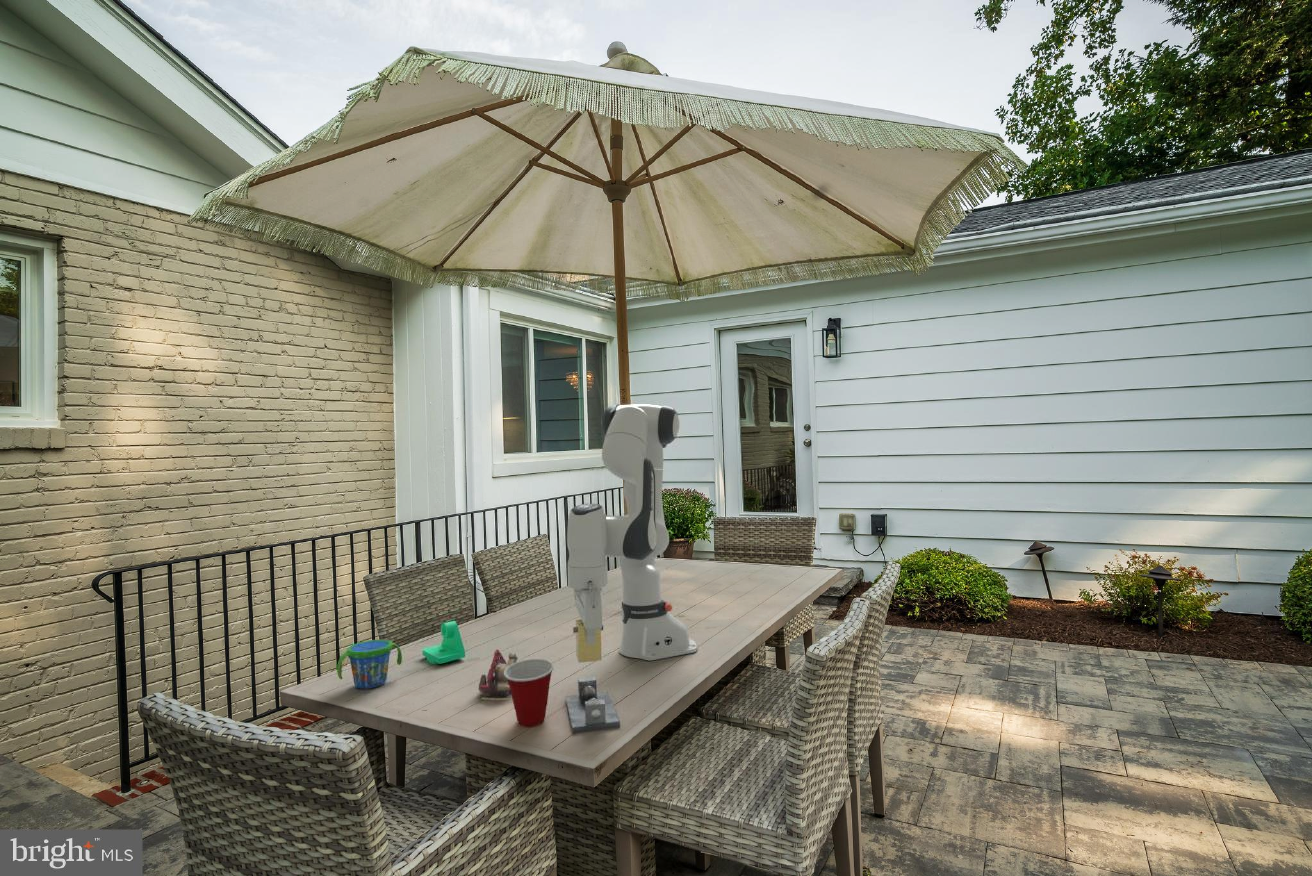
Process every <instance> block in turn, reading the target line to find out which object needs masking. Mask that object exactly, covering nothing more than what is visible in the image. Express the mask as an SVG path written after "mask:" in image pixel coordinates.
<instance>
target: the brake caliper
mask: <svg viewBox="0 0 1312 876" xmlns="http://www.w3.org/2000/svg"><path fill="white" fill-rule="evenodd" d="M518 659H519V658H518V656H517V654H516V653H512V652H509V654H508V661H506V660H505V658H504V656H503V654H502V653H501V652H500V650H499V649H497V648H496V649H495V651H494V653H493V657H492V660H491V664H490V668H489V669H488V671H487V676H486V674H481V677H480V681H479V684H478V691H479V692H480V693H481V695H482V697H481V698H480V699H481V700H483V701H484V700H489V701H510V700H512V698H510V697H509V698H508V697H507V696H508V695H509V693H510V692H511V690H510V687H509V683H508V681H507V678H506V677H505V676H504V670H505V669H506V668H507V667H508V666H510V665H512V664H514V663H516V662H518V661H517V660H518ZM506 697H507V698H506Z"/></svg>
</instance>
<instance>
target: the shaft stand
mask: <svg viewBox="0 0 1312 876" xmlns="http://www.w3.org/2000/svg"><path fill="white" fill-rule="evenodd" d="M577 684H578V685H577V688H578V689H577V690H578V694H576V695H568V696H565V703H566V708H567V709H566V710H567V713H568V718H569V722H570V726H571V731H572V734H579V733H585V732H592V731H599V730H605V729H609V730H610V729H615V728H620V727H621V721H620V718H619V715H618V713H617V711H616V708H615V706H614V703H613V701H612V698H611V696H610V694H609V691H608V690H607V691H599V692H597V691H598V690H597V678H596V676H588V677H581V678H580V677H578V678H577Z"/></svg>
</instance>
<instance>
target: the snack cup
mask: <svg viewBox="0 0 1312 876" xmlns="http://www.w3.org/2000/svg"><path fill="white" fill-rule="evenodd" d="M392 647H395V648H396V649H397V658H396V664H397V665H399V666H400V665H402V662H403V655H402V650H401V648H400V647H399V645H397V644H396V643H393V642H392V641H390V640H388V639H387V640H386V639H372V640H371V639H370V640H364V641H361V642H357V643H354V644H352V645H350V646H348V647H347V649H346V651H345V652H344V653H343V654H342V655H341V656H340V658H339V659H338V661H337V666H336V672H337V676H338V679H340V680H343V676H342V673H343V669H342V668H343V661H344V660H345V659H346V658H349V660H350V666H351V667H350V668H351V673H352V678H353V683H354V687H355V688H356V689H362V690H363V689H364V690H366V689H367V690H369V689H373V688H376V687H379V686H384V683H386V682H387V678H388V672H389V662H390V657H391V656H390V655H391V651H392Z"/></svg>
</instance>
